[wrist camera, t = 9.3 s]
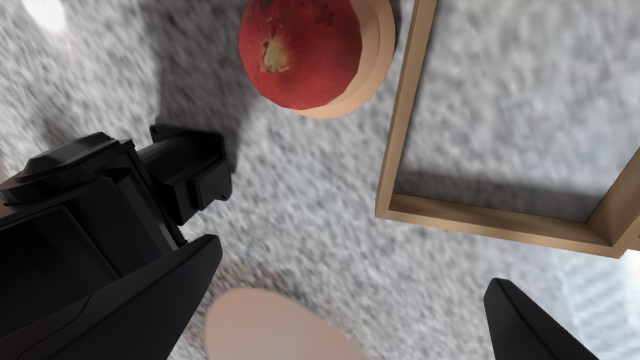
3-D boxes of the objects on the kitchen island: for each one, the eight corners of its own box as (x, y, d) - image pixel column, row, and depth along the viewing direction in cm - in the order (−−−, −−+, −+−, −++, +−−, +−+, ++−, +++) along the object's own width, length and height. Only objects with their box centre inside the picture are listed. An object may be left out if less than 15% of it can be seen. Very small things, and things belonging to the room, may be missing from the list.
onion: (260, 4, 15) (162, -23, 8) (356, -29, 14) (331, -97, 7) (288, 102, 18) (229, 143, 11) (372, 84, 16) (366, 119, 9)
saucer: (259, 108, 19) (254, 111, 19) (251, -47, 15) (243, -52, 14) (380, 122, 18) (380, 126, 17) (410, -44, 14) (412, -49, 13)
